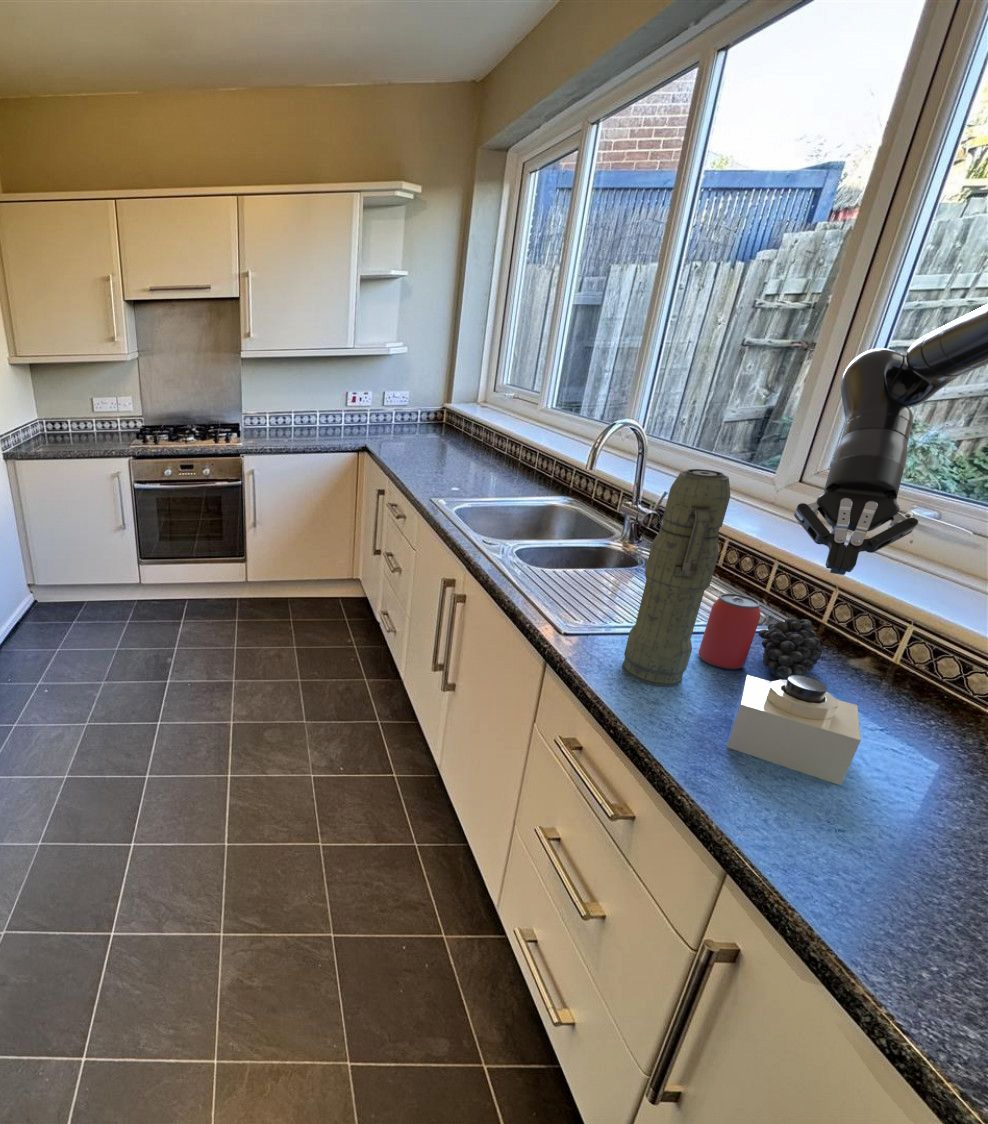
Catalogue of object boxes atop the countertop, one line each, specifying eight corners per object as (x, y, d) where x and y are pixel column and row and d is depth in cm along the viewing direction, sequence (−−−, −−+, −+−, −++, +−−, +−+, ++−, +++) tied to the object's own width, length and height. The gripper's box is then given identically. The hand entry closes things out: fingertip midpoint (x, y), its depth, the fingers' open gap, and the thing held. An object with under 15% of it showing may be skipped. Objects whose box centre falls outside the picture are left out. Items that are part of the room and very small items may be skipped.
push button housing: (839, 748, 86) (862, 693, 83) (841, 786, 80) (866, 728, 76) (733, 715, 94) (750, 664, 91) (726, 747, 87) (744, 693, 84)
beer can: (738, 656, 110) (757, 595, 106) (748, 674, 105) (769, 611, 100) (693, 649, 113) (711, 589, 108) (701, 666, 107) (720, 604, 103)
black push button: (821, 695, 84) (827, 682, 83) (822, 708, 81) (827, 694, 80) (783, 684, 86) (788, 671, 85) (782, 696, 83) (787, 684, 83)
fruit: (813, 643, 96) (822, 611, 105) (745, 641, 102) (759, 611, 112) (819, 695, 97) (827, 658, 107) (752, 690, 103) (765, 655, 113)
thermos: (670, 660, 109) (724, 465, 96) (692, 696, 99) (756, 483, 86) (614, 652, 112) (659, 462, 99) (629, 686, 102) (682, 479, 89)
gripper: (811, 447, 90) (781, 548, 86) (942, 459, 82) (917, 571, 78) (800, 476, 96) (772, 572, 92) (922, 490, 88) (897, 595, 84)
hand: (838, 571), depth 85 cm, fingers closed
